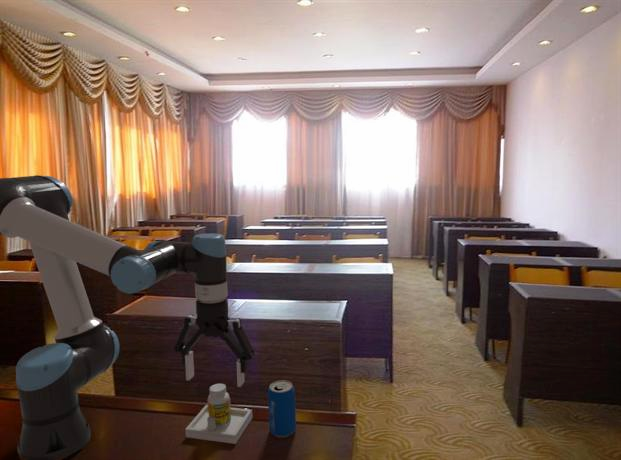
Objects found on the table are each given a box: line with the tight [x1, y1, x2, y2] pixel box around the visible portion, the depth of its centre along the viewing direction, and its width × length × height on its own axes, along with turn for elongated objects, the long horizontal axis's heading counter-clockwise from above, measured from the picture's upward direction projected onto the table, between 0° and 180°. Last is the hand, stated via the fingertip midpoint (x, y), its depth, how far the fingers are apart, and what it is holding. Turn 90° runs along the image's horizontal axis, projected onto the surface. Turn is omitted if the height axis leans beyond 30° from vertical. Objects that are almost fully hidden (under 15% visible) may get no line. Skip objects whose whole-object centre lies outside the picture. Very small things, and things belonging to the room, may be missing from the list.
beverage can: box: [267, 379, 297, 438], centre depth 110 cm, size 6×6×12 cm
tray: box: [185, 397, 253, 445], centre depth 113 cm, size 13×11×5 cm
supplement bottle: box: [207, 383, 231, 428], centre depth 113 cm, size 5×5×10 cm
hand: (215, 381), depth 112 cm, fingers open, 13 cm apart
